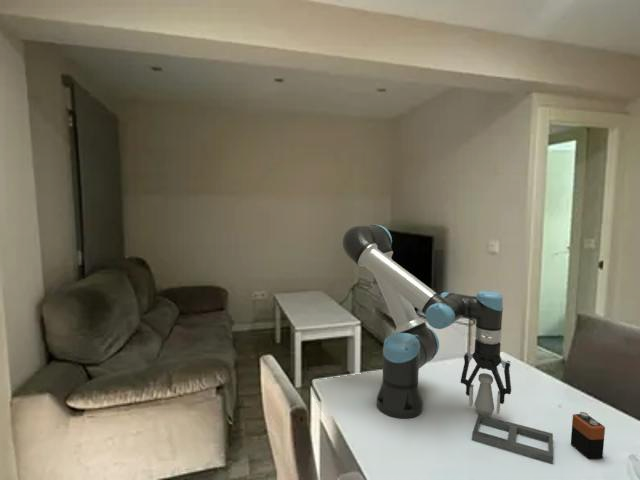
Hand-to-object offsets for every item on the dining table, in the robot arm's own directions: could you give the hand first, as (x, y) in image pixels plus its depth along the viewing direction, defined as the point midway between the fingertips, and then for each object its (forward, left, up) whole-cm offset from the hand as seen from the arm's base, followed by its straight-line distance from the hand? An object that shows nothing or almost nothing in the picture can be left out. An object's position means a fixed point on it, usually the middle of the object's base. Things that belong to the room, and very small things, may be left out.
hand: (484, 408), depth 125 cm
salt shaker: (0, 0, -2) cm, 2 cm away
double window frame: (+9, -11, -2) cm, 14 cm away
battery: (+27, -6, -2) cm, 28 cm away
